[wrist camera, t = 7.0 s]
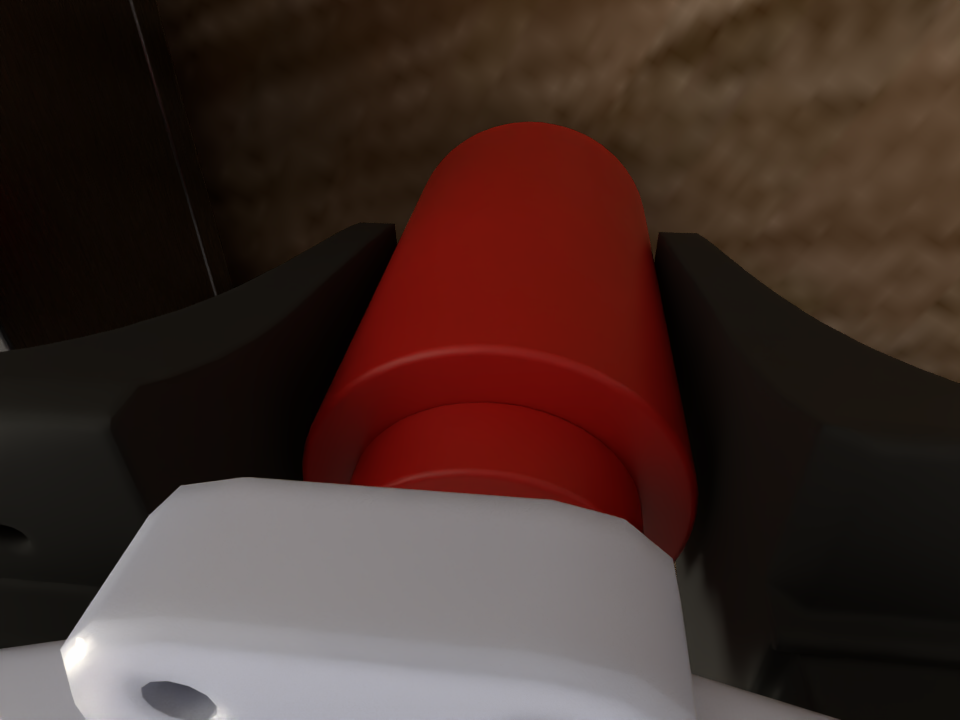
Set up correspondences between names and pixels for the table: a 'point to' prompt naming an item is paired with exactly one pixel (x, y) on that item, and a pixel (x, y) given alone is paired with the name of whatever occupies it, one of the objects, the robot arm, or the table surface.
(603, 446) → the sauce bottle
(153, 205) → the drawer
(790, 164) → the table surface
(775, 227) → the table surface
